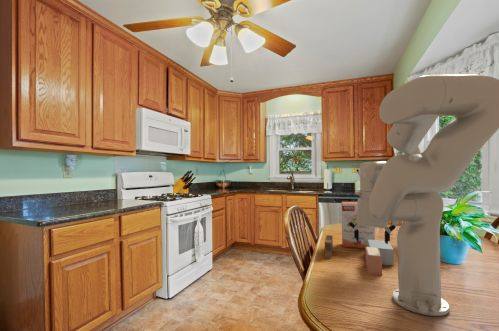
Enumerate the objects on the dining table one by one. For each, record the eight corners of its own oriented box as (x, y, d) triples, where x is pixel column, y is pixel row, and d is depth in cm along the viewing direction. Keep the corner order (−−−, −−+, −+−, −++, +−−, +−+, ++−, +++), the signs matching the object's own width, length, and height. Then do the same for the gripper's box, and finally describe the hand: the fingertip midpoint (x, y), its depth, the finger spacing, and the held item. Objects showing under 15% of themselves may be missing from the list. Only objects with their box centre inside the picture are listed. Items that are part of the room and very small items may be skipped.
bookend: (331, 258, 101) (330, 242, 101) (324, 258, 102) (324, 242, 102) (332, 249, 112) (332, 235, 113) (327, 249, 113) (326, 235, 113)
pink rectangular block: (382, 275, 85) (381, 256, 85) (368, 273, 86) (367, 254, 86) (378, 265, 94) (378, 247, 94) (365, 263, 96) (365, 246, 96)
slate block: (394, 265, 93) (393, 249, 93) (370, 262, 96) (370, 247, 96) (388, 255, 104) (388, 241, 104) (367, 253, 107) (367, 239, 107)
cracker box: (342, 247, 116) (341, 202, 116) (341, 243, 122) (340, 201, 122) (375, 249, 112) (374, 203, 112) (373, 245, 118) (372, 201, 118)
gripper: (346, 195, 91) (346, 242, 91) (400, 197, 85) (400, 247, 85) (346, 193, 98) (346, 236, 98) (396, 194, 92) (396, 240, 92)
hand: (371, 241), depth 91 cm, fingers open, 9 cm apart
